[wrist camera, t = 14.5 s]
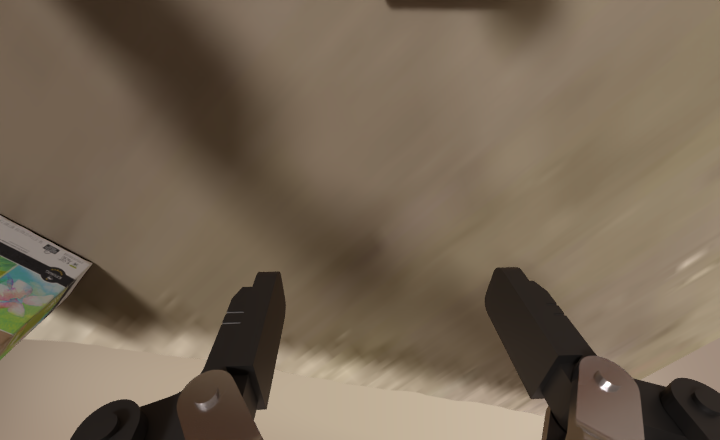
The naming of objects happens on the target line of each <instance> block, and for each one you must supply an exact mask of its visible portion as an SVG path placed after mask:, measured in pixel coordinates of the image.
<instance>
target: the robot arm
mask: <svg viewBox="0 0 720 440" xmlns="http://www.w3.org/2000/svg"><path fill="white" fill-rule="evenodd" d="M485 307H486V311H487V313H488V315H489V317H490V319H491V321H492V323H493V325H494V327H495V329H496V331H497V333H498V335H499V337H500V339H501V341H502V343H503V345H504V347H505V349H506V351H507V353H508V355H509V357H510V359H511V361H512V363H513V365H514V367H515V369H516V371H517V373H518V375H519V376H520V378H521V380H522V382H523V384H524V386H525V388H526V390H527V392H528V394H529V396H530V398H531V399H542V398H545V400H546V401H547V403H548V405H549V406H548V408H547V410H546V414H545V421H544V427H543V434H542V440H720V393H718V392H717V391H715V390H714V389H712V388H710V387H709V386H706V385H705V384H703V383H700V382H698V381H695V380H692V379H688V378H677V379H675V380H674V381H672V382H671V383H670V384H669V385H668V386H667V387H664V386H660V385H656V384H652V383H648V382H644V381H641V380H637V379H633V378H632V377H631V376H630V375H629V374H628V373H627V372H626V371H625V370H624V369H623V368H621V367H620V366H619V365H617V364H616V363H614V362H612V361H610V360H608V359H605V358H603V357H599V356H597V355H596V354H595V353H594V352H593V350H592V349H591V348H590V346H589V345H588V344H587V342H586V341H585V340H584V339H583V337H582V336H581V335H580V333H579V332H578V331H577V329H576V328H575V327H574V326H573V324H572V323H571V322H570V320H569V319H568V318H567V316H564V313H563V311H562V310H561V309H560V307H559V306H557V305H556V302H555V301H554V300H553V298H552V297H551V296H550V294H549V293H548V292H547V291H546V290H545V289H544V288H542V287H541V286H540V285H538V284H537V283H536V282H534V281H529V280H528V278H527V277H526V276H525V274H524V273H523V272H522V270H521V269H520V268H518V267H506V268H496V269H495V270H494V272H493V275H492V278H491V281H490V284H489V287H488V290H487V292H486V295H485ZM285 310H286V304H285V296H284V290H283V284H282V279H281V274H280V272H258V273H257V275H256V278H255V281H254V284H253V287H242V288H241V289H240V291H239V292H238V293H237V294H236V295H235V296H234V297H233V298H232V300H231V303H230V305H229V308H228V310H227V314H226V315H225V317H224V320H223V324H222V325H221V327H220V330H219V332H218V335H217V337H216V340H215V342H214V345H213V347H212V350H211V352H210V354H209V357H208V359H207V362H206V364H205V367H204V369H203V371H202V372H201V374H200V375H198V376H197V377H195V378H194V379H193V380H191V381H190V382H189V383H188V384H187V385H186V386H185V388H184V389H183V390H182V391H181V392H179V393H178V394H175V395H173V396H170V397H168V398H165V399H162V400H159V401H156V402H153V403H151V404H148V405H145V406H142V407H139V406H138V405H137V404H136V403H135V402H134V401H131V400H127V399H126V400H117V401H113V402H110V403H108V404H106V405H104V406H102V407H100V408H99V409H97V410H96V411H94V412H93V413H92V414H91V415H89V416H88V417H87V418H86V419H85V420H84V421H83V422H82V424H81V425H80V426H79V427H78V428H77V430H76V431H75V433H74V434H73V436H72V437H71V439H70V440H263V438H262V436H261V434H260V432H259V430H258V428H257V426H256V424H255V422H254V417H255V413H256V410H261V409H267V404H268V399H269V394H270V389H271V384H272V379H273V374H274V369H275V364H276V359H277V354H278V349H279V344H280V339H281V334H282V329H283V324H284V319H285Z"/></svg>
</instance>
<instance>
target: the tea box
mask: <svg viewBox="0 0 720 440" xmlns="http://www.w3.org/2000/svg"><path fill="white" fill-rule="evenodd" d="M92 264H93V263H91V262H89V261H86V260H84V259H82V258H80V257H78V256H76V255H74V254H72V253H71V252H68V251H66V250H64V249H63V248H61V247H59V246H57V245H56V244H54V243H52V242H50V241H48V240H46V239H44V238H42V237H40V236H38V235H36V234H34V233H33V232H31V231H29V230H27V229H25V228H24V227H22V226H19V225H18V224H16V223H14V222H12V221H10V220H8V219H7V218H5V217H3V216H1V215H0V360H1V359H2V358H3V357H4V356H5V355H6V354H7V353H8V352H9V351H10V350H12V348H14V347H15V346H16V345H17V344H18V343H19V342H20V341H21V340H22V339H23V338H24V337H26V336H27V335H28V334H29V333H30V332H31V331H32V330H33V329H34V328H35V327H36V326H37V325H38V324H39V323H40V322H41V321H43V320H44V319H45V318H46V317H47V316H48V315H49V314H50V313H51V312H52V311H53V310H54V309H55V308H56V307H57V306H59V305H60V304H61V303H62V302H63V301H64V300H65V299H66V298H67V297H68V296H69V295H70V293H71V292H72V291H73V289H74V288H75V286H76V285H77V283H78V282H79V281H80V279H81V278H82V277H83V275H84V274H85V273H86V271H87V270H88V269H89V268H90V266H91V265H92Z"/></svg>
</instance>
